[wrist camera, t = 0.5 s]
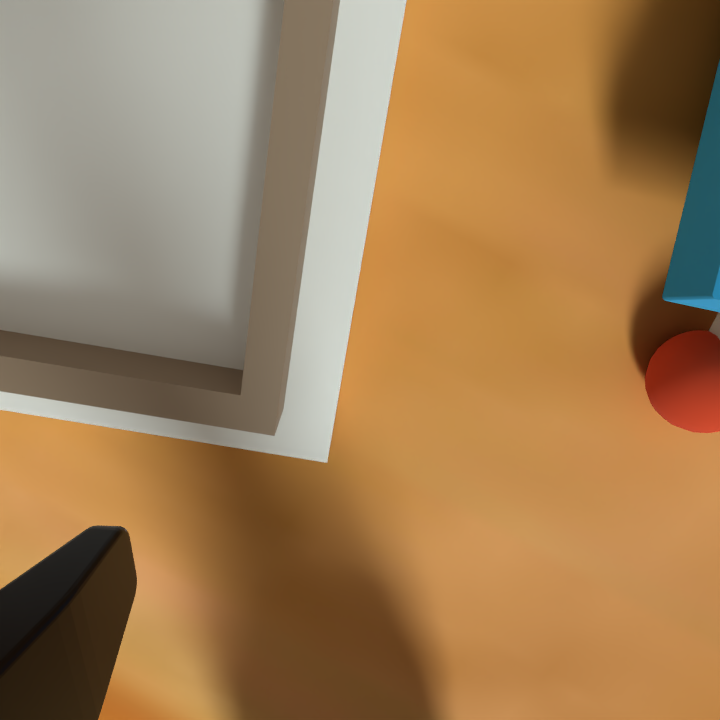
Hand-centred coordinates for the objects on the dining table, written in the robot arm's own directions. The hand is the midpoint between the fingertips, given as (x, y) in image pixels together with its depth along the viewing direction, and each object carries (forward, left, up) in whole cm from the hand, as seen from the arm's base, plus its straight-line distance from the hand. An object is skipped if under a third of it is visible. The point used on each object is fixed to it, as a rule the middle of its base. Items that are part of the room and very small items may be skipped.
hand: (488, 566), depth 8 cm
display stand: (+3, +11, -14) cm, 18 cm away
